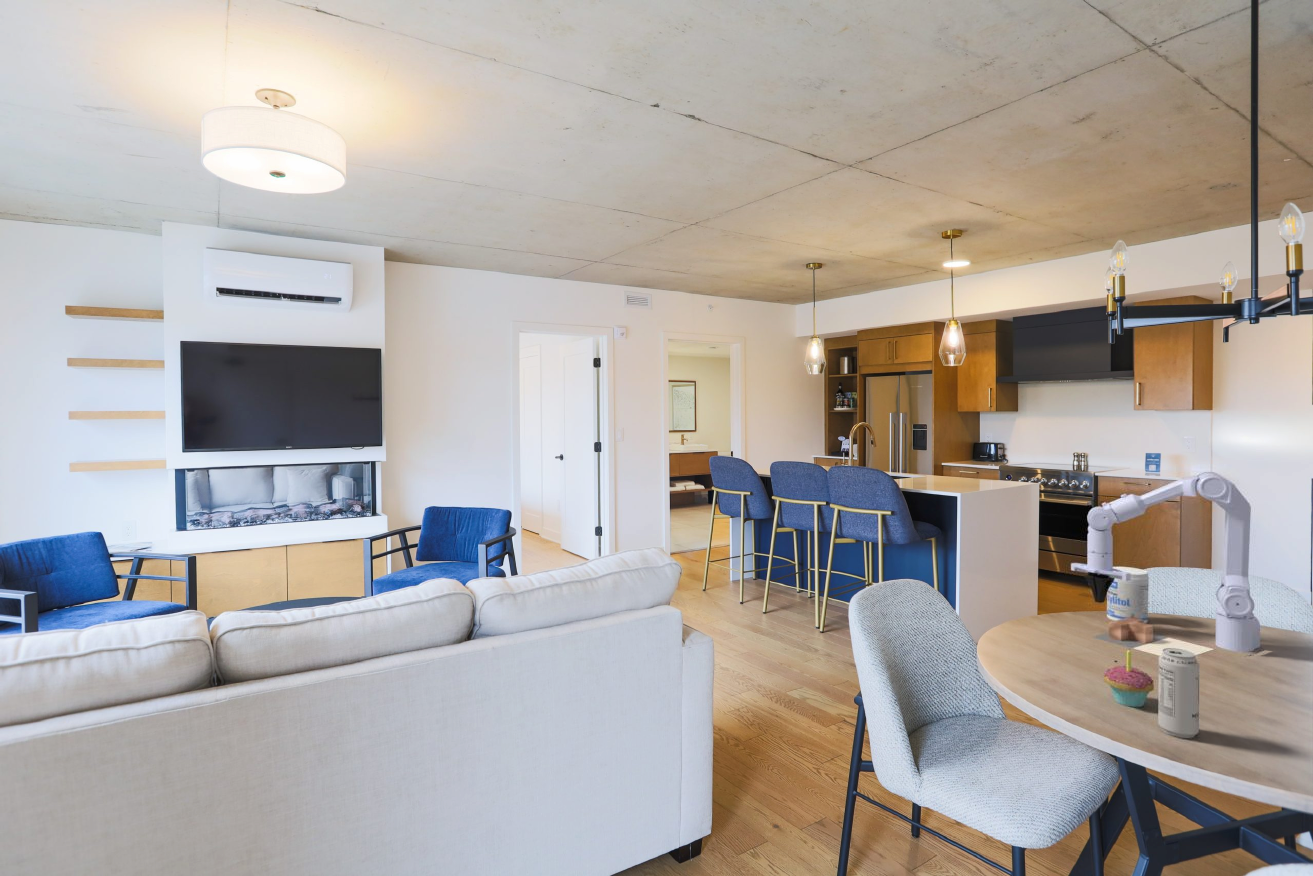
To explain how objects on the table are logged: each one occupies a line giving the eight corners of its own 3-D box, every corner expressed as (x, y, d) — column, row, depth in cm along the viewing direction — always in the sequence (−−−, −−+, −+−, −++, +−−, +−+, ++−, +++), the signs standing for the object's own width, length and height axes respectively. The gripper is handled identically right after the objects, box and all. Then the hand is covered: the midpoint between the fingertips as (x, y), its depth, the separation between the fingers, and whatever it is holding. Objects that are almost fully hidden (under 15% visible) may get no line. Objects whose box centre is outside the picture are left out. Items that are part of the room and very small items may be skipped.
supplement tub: (1101, 621, 195) (1101, 569, 194) (1114, 614, 201) (1114, 564, 200) (1141, 629, 187) (1141, 575, 187) (1153, 622, 193) (1153, 570, 192)
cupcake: (1155, 714, 135) (1156, 654, 135) (1104, 705, 140) (1104, 647, 139) (1152, 698, 142) (1152, 641, 142) (1103, 690, 147) (1103, 635, 146)
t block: (1108, 637, 178) (1108, 622, 178) (1131, 631, 183) (1131, 616, 182) (1137, 645, 172) (1137, 629, 172) (1160, 639, 176) (1160, 623, 176)
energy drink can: (1203, 742, 124) (1204, 660, 123) (1163, 736, 126) (1163, 655, 126) (1193, 728, 129) (1193, 649, 129) (1154, 722, 132) (1154, 645, 131)
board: (1127, 630, 186) (1127, 627, 186) (1214, 652, 168) (1214, 649, 168) (1091, 639, 179) (1091, 636, 179) (1178, 664, 161) (1178, 660, 161)
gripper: (1064, 548, 189) (1063, 597, 189) (1119, 558, 176) (1119, 610, 177) (1079, 546, 192) (1079, 594, 193) (1135, 555, 179) (1135, 606, 180)
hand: (1099, 602), depth 185 cm, fingers closed
